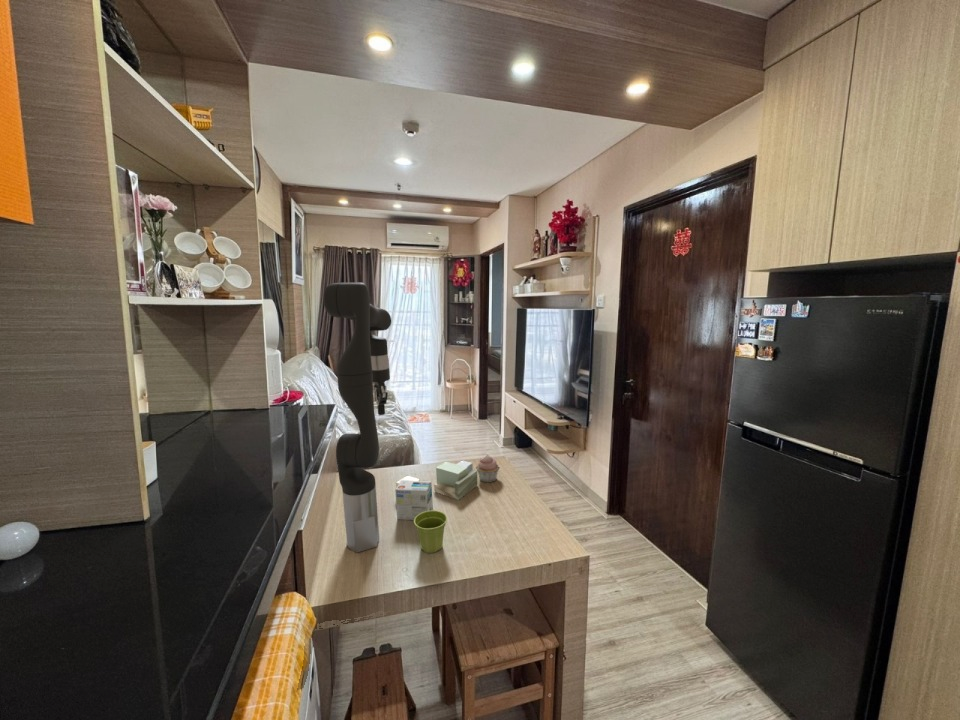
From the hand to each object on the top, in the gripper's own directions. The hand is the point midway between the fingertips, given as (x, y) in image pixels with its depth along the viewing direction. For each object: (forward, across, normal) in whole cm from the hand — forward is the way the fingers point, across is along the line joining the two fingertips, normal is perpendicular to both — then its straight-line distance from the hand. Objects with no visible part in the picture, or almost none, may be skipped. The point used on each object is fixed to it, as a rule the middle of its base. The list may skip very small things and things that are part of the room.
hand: (381, 414), depth 144 cm
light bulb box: (+29, -22, -4) cm, 37 cm away
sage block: (+29, -11, -22) cm, 38 cm away
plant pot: (+29, -40, -3) cm, 50 cm away
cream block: (+29, -10, -6) cm, 31 cm away
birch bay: (+29, -13, -23) cm, 39 cm away
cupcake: (+29, -12, -37) cm, 48 cm away
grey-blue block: (+29, -5, -30) cm, 42 cm away
